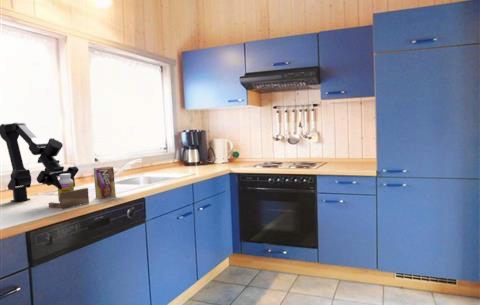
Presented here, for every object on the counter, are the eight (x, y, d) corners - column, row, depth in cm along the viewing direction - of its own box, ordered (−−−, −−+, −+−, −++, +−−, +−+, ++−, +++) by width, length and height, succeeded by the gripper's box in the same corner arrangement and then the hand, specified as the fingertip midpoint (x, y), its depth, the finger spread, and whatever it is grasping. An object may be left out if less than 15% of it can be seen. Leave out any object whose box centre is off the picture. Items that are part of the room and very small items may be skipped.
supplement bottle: (60, 203, 165) (58, 175, 164) (57, 201, 170) (55, 174, 169) (76, 201, 169) (74, 174, 168) (72, 199, 174) (71, 172, 173)
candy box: (112, 195, 190) (111, 166, 189) (116, 196, 187) (114, 166, 186) (95, 198, 185) (93, 167, 184) (98, 199, 181) (96, 168, 180)
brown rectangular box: (47, 207, 165) (46, 192, 165) (74, 201, 178) (73, 187, 177) (62, 209, 161) (61, 193, 160) (88, 202, 173) (87, 188, 172)
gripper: (60, 172, 184) (77, 195, 180) (24, 177, 167) (41, 203, 163) (70, 156, 180) (87, 180, 176) (34, 160, 163) (52, 186, 159)
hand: (67, 187), depth 168 cm, fingers closed on supplement bottle, 7 cm apart
